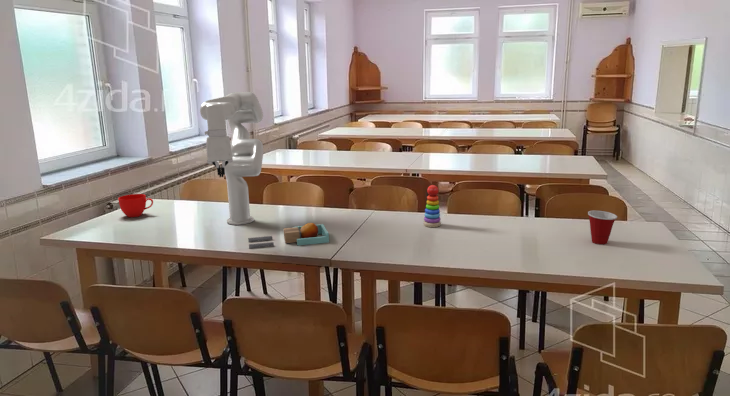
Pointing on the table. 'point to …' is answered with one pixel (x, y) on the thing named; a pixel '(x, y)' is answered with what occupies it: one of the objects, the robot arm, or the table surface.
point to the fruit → (309, 230)
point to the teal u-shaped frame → (315, 240)
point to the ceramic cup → (133, 204)
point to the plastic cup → (601, 226)
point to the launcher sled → (291, 234)
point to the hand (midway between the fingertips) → (221, 176)
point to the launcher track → (260, 243)
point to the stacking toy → (432, 208)
